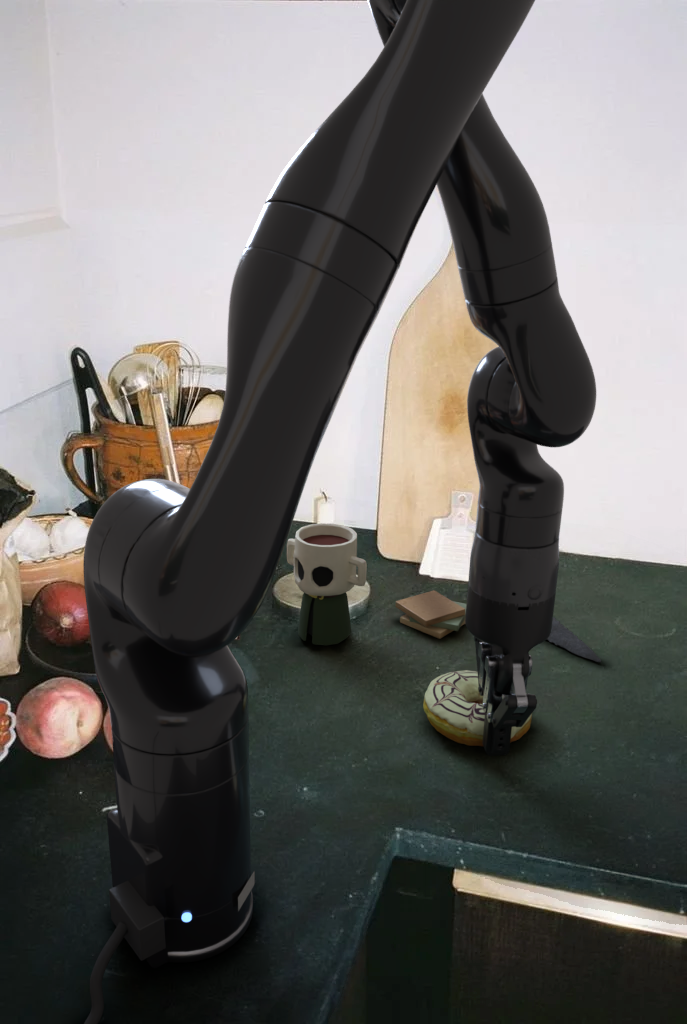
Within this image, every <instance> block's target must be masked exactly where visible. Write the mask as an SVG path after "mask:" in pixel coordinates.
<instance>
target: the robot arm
mask: <svg viewBox="0 0 687 1024" xmlns="http://www.w3.org/2000/svg"><path fill="white" fill-rule="evenodd" d="M535 1H536V0H367V4H368V7H369V11H370V14H371V16H372V19H373V21H374V24H375V27H376V30H377V33H378V35H379V37H380V40H381V43H382V45H383V48H382V50H381V51H380V53H379V55H378V56H377V58H376V60H375V61H374V63H372V65H371V67H369V69H368V70H367V72H366V73H365V75H363V77H362V78H361V79H360V81H359V82H358V83H357V84H356V85H355V86H354V88H352V89H351V91H350V92H349V93H348V94H347V95H346V97H345V98H344V99H342V101H341V102H340V103H339V104H338V105H337V106H336V107H335V109H333V111H332V112H331V113H330V114H329V115H328V116H327V118H326V119H325V120H324V121H323V122H322V123H321V124H320V125H319V127H318V128H316V129H315V131H314V132H313V133H311V135H310V136H309V137H308V138H307V140H306V141H305V142H304V143H303V144H302V145H301V147H300V148H299V149H298V150H297V151H296V153H295V154H294V155H293V156H292V158H291V159H290V161H288V163H287V165H285V167H284V169H283V170H282V171H281V173H280V175H279V177H278V178H277V180H276V182H275V183H274V185H273V187H272V188H271V190H270V193H269V194H268V196H267V198H266V199H265V202H264V205H263V207H262V209H261V211H260V214H259V216H258V218H257V220H256V222H255V224H254V227H253V229H252V231H251V234H250V236H249V238H248V240H247V242H246V245H245V247H244V249H243V251H242V253H241V256H240V258H239V261H238V263H237V266H236V269H235V271H234V274H233V278H232V283H231V289H230V294H229V300H228V301H229V302H228V313H227V338H226V339H227V341H226V347H227V349H226V350H227V351H226V374H225V375H226V377H225V378H226V379H225V392H224V399H223V405H222V409H221V412H220V417H219V420H218V422H217V423H218V424H217V427H216V429H215V432H214V435H213V437H212V441H211V443H210V444H209V447H208V449H207V452H206V454H205V456H204V459H203V460H202V463H201V464H200V467H199V469H198V472H197V474H196V477H195V478H194V480H193V482H192V484H191V486H190V487H187V486H185V485H183V484H181V483H179V482H176V481H173V480H169V479H163V478H147V479H140V480H137V481H134V482H131V483H129V484H126V485H124V486H123V487H121V488H119V489H118V490H116V491H115V492H114V493H112V494H111V495H110V496H109V497H108V498H107V499H106V500H105V501H104V502H103V504H102V505H101V506H100V507H99V509H98V510H97V512H96V514H95V516H93V519H92V521H91V523H90V526H89V529H88V531H87V535H86V539H85V544H84V549H83V551H84V552H83V564H82V565H83V566H82V567H83V583H84V584H83V585H84V596H85V605H86V612H87V619H88V627H89V635H90V644H91V651H92V658H93V665H94V670H95V674H96V678H97V681H98V684H99V687H100V689H101V692H102V693H103V695H104V698H105V701H106V704H107V707H108V712H109V721H110V726H111V727H110V730H111V743H112V757H113V770H114V772H113V773H114V782H115V784H114V785H115V798H116V808H114V809H111V810H109V811H108V812H107V814H106V826H107V839H108V849H109V861H110V872H111V873H110V874H111V885H112V887H111V888H109V889H108V896H109V905H110V906H109V909H110V920H111V921H112V923H113V924H114V925H115V929H114V931H113V932H112V934H111V935H110V937H109V938H108V940H107V941H106V943H105V945H104V946H103V947H102V949H101V951H100V953H99V954H98V957H97V959H96V961H95V962H94V965H93V968H92V972H91V975H90V979H89V994H90V1001H91V1002H90V1003H91V1008H90V1013H89V1014H88V1016H87V1018H86V1019H85V1021H84V1023H83V1024H99V1023H100V1021H101V1019H102V1017H103V1014H104V1010H105V999H104V992H103V978H104V976H105V972H106V970H107V968H108V966H109V963H110V961H111V959H112V957H113V955H114V954H115V952H116V951H117V949H118V948H119V947H120V944H121V943H122V941H123V940H124V939H125V940H126V942H127V944H128V945H129V946H130V948H131V949H132V951H133V952H134V953H135V954H136V956H137V957H138V959H139V960H140V961H144V960H145V961H146V962H147V963H148V965H149V966H150V968H152V969H157V968H159V967H161V966H163V965H165V964H167V963H176V964H177V963H179V964H180V963H181V964H182V963H183V964H185V963H193V962H199V961H203V960H207V959H210V958H213V957H216V956H217V955H219V954H221V953H223V952H225V951H227V950H228V949H230V948H231V947H232V946H233V945H235V944H236V943H237V942H238V941H239V940H240V939H241V938H242V937H243V935H244V934H245V933H246V931H247V929H248V928H249V926H250V924H251V921H252V918H253V912H254V898H253V896H254V895H253V888H254V886H255V883H256V882H255V881H256V880H255V875H256V874H255V871H253V872H252V853H251V850H252V849H251V847H252V846H251V792H250V791H251V789H250V785H251V783H250V722H249V721H250V720H249V719H250V717H249V716H250V715H249V688H248V686H249V685H248V681H247V677H246V675H245V672H244V669H243V668H242V666H241V665H240V663H239V661H238V660H237V659H236V656H235V655H234V653H233V651H232V650H231V648H230V646H229V645H230V644H231V643H232V642H234V641H235V640H236V639H237V638H238V637H239V636H240V635H241V634H242V633H243V632H244V631H245V630H246V628H247V627H248V626H249V625H250V624H251V622H252V620H253V619H254V617H255V616H256V615H257V613H258V612H259V609H260V608H261V606H262V605H263V603H264V601H265V598H266V596H267V594H268V593H269V589H270V587H271V585H272V582H273V581H274V577H275V574H276V572H277V569H278V566H279V563H280V560H281V557H282V554H283V552H284V549H285V547H286V546H285V545H286V544H287V541H288V537H289V534H290V531H291V528H292V525H293V522H294V520H295V516H296V513H297V511H298V507H299V504H300V501H301V499H302V498H301V497H302V495H303V492H304V488H305V487H306V483H307V481H308V477H309V475H310V472H311V469H312V466H313V464H314V461H315V458H316V455H317V453H318V451H319V448H320V446H321V444H322V441H323V439H324V436H325V434H326V432H327V429H328V427H329V424H330V422H331V420H332V417H333V415H334V412H335V410H336V408H337V405H338V403H339V400H340V398H341V396H342V394H343V391H344V389H345V386H346V384H347V382H348V380H349V377H350V376H351V372H352V370H353V367H354V366H355V363H356V361H357V358H358V356H359V354H360V352H361V349H362V348H363V346H364V344H365V342H366V340H367V338H368V336H369V334H370V332H371V330H372V328H373V326H374V324H375V322H376V320H377V318H378V316H379V314H380V311H381V310H382V308H383V305H384V303H385V301H386V298H387V296H388V294H389V292H390V290H391V287H392V285H393V283H394V281H395V279H396V276H397V274H398V272H399V270H400V268H401V265H402V262H403V260H404V258H405V255H406V253H407V250H408V248H409V245H410V242H411V240H412V238H413V235H414V233H415V231H416V229H417V227H418V224H419V222H420V220H421V218H422V215H423V213H424V211H425V209H426V207H427V206H428V203H429V201H430V199H431V197H432V195H433V193H434V191H435V188H437V191H438V194H439V198H440V201H441V204H442V207H443V211H444V215H445V218H446V221H447V225H448V226H447V227H448V230H449V234H450V237H451V242H452V246H453V251H454V256H455V261H456V266H457V271H458V275H459V279H460V284H461V289H462V294H463V297H464V304H465V306H466V310H467V315H468V318H469V320H470V322H471V324H472V326H473V327H474V329H476V330H477V331H478V332H479V333H480V334H482V335H483V336H484V337H486V338H487V339H489V341H492V342H493V343H495V345H496V347H494V348H491V350H489V351H487V353H485V354H484V355H483V357H482V358H480V360H479V362H478V363H477V365H476V366H475V367H474V370H473V372H472V375H471V377H470V380H469V384H468V389H467V396H466V412H467V421H468V428H469V434H470V439H471V441H470V442H471V446H472V452H473V453H472V454H473V461H474V466H475V468H476V473H477V477H478V484H479V488H478V496H477V507H476V519H475V530H474V536H473V542H472V546H471V550H470V557H469V567H468V581H467V593H466V603H465V604H466V616H465V624H464V625H465V627H466V629H467V631H468V632H469V634H470V635H472V636H473V641H474V646H475V658H476V671H477V672H478V685H479V687H478V691H479V694H480V696H483V703H482V708H483V710H484V712H487V713H485V720H484V731H483V742H482V744H483V746H482V747H483V748H484V751H485V753H486V755H487V756H491V757H493V756H496V757H497V756H506V755H508V754H509V753H510V748H511V743H510V740H511V731H512V727H522V726H523V724H524V723H525V722H526V721H527V719H528V718H529V717H530V715H531V714H532V715H533V713H534V711H536V709H537V705H538V699H537V696H536V694H534V693H527V686H528V679H529V677H530V676H531V675H532V670H533V657H532V655H531V654H529V653H530V651H531V650H532V649H534V648H535V647H536V646H538V645H541V644H542V643H545V642H546V639H547V638H548V637H549V636H550V633H551V629H552V621H553V617H554V611H555V604H556V603H555V602H556V594H557V586H558V578H559V577H558V576H559V568H560V534H561V533H560V532H561V524H562V514H563V507H564V499H565V498H564V497H565V484H564V480H563V478H562V476H561V474H560V472H558V471H557V469H555V468H554V467H552V466H551V464H549V463H548V462H547V461H546V460H545V459H544V458H543V457H542V456H541V454H540V452H539V449H538V446H540V447H545V448H562V447H566V446H569V445H570V444H573V443H574V442H576V441H578V440H579V439H580V438H581V437H582V436H583V435H584V433H585V432H586V430H587V429H588V428H589V426H590V424H591V422H592V420H593V417H594V414H595V410H596V404H597V383H596V376H595V373H594V369H593V366H592V363H591V360H590V358H589V355H588V353H587V350H586V348H585V346H584V343H583V341H582V339H581V337H580V335H579V331H578V330H577V327H576V324H575V322H574V320H573V317H572V315H571V314H570V312H569V310H568V308H567V306H566V305H565V303H564V300H563V298H562V296H561V292H560V286H559V279H558V271H557V266H556V260H555V254H554V248H553V241H552V237H551V236H552V235H551V229H550V223H549V221H548V216H547V213H546V209H545V206H544V203H543V201H542V199H541V196H540V194H539V192H538V190H537V187H536V186H535V183H534V182H533V180H532V178H531V176H530V174H529V172H528V171H527V169H526V167H525V165H524V164H523V163H522V160H521V159H520V158H519V156H518V155H517V153H516V151H515V149H514V148H513V147H512V145H511V144H510V142H509V140H508V139H507V138H506V135H505V134H504V132H503V130H502V129H501V127H500V126H499V124H498V122H497V120H496V119H495V117H494V115H493V113H492V110H491V108H490V106H489V104H488V102H487V100H486V98H485V96H484V92H485V90H486V88H487V86H488V85H489V82H490V81H491V79H492V78H493V76H494V74H495V73H496V71H497V69H498V67H499V66H500V64H501V62H502V61H503V59H504V57H505V55H506V54H507V52H508V51H509V49H510V47H511V45H512V44H513V43H514V40H515V39H516V37H517V35H518V33H519V31H520V29H521V28H522V26H523V24H524V23H525V21H526V19H527V17H528V15H529V14H530V11H531V10H532V8H533V6H534V4H535ZM526 693H527V694H526Z"/></svg>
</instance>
